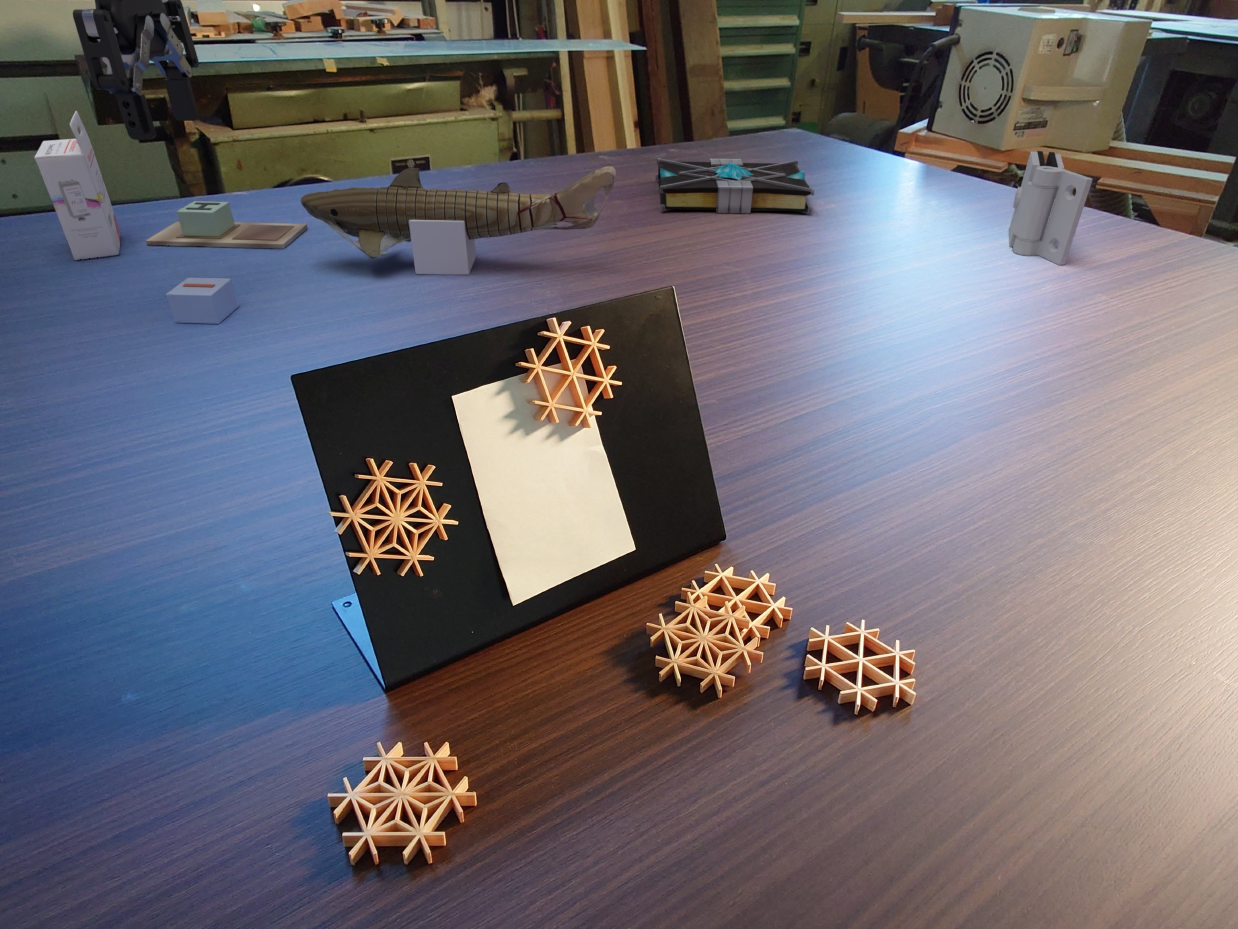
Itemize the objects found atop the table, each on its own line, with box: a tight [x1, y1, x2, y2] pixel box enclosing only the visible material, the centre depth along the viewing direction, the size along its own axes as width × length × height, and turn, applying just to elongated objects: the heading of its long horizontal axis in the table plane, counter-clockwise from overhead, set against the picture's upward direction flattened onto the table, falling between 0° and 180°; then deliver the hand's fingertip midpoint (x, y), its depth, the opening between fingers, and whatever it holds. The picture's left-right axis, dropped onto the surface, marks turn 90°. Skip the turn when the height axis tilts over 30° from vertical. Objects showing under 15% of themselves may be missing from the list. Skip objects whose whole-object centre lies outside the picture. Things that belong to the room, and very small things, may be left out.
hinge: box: [1008, 150, 1094, 266], centre depth 100 cm, size 14×5×10 cm, turn 171°
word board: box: [145, 220, 309, 250], centre depth 101 cm, size 17×8×1 cm, turn 88°
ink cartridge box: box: [34, 110, 122, 261], centre depth 94 cm, size 9×5×15 cm, turn 26°
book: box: [655, 157, 816, 215], centre depth 118 cm, size 22×17×5 cm
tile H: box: [176, 200, 235, 237], centre depth 100 cm, size 4×4×3 cm
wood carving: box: [300, 165, 617, 276], centre depth 91 cm, size 9×35×11 cm, turn 91°
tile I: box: [165, 277, 239, 325], centre depth 81 cm, size 4×4×3 cm
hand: (166, 129), depth 77 cm, fingers open, 8 cm apart
